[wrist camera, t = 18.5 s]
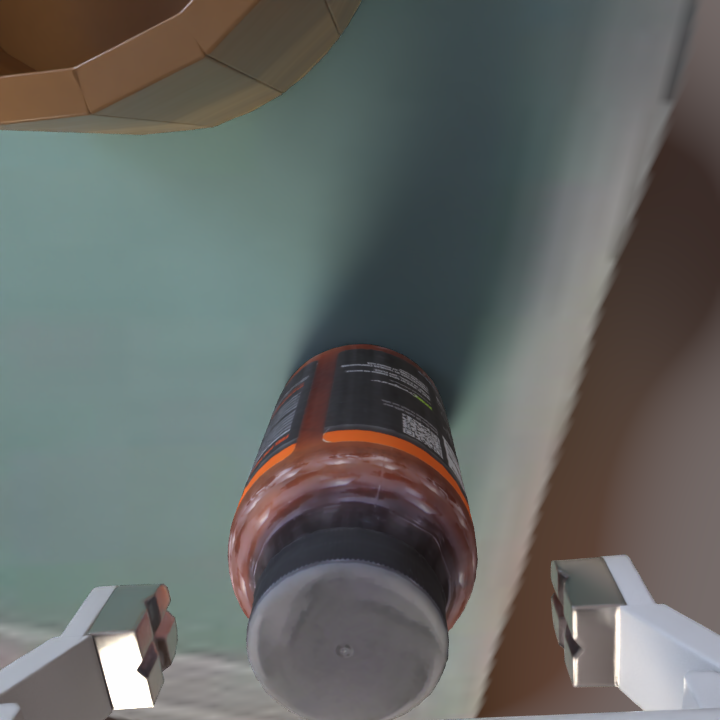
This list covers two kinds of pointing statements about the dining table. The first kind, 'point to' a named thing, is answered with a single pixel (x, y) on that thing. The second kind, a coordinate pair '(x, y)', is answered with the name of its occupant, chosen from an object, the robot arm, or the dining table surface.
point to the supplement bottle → (353, 539)
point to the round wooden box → (155, 60)
